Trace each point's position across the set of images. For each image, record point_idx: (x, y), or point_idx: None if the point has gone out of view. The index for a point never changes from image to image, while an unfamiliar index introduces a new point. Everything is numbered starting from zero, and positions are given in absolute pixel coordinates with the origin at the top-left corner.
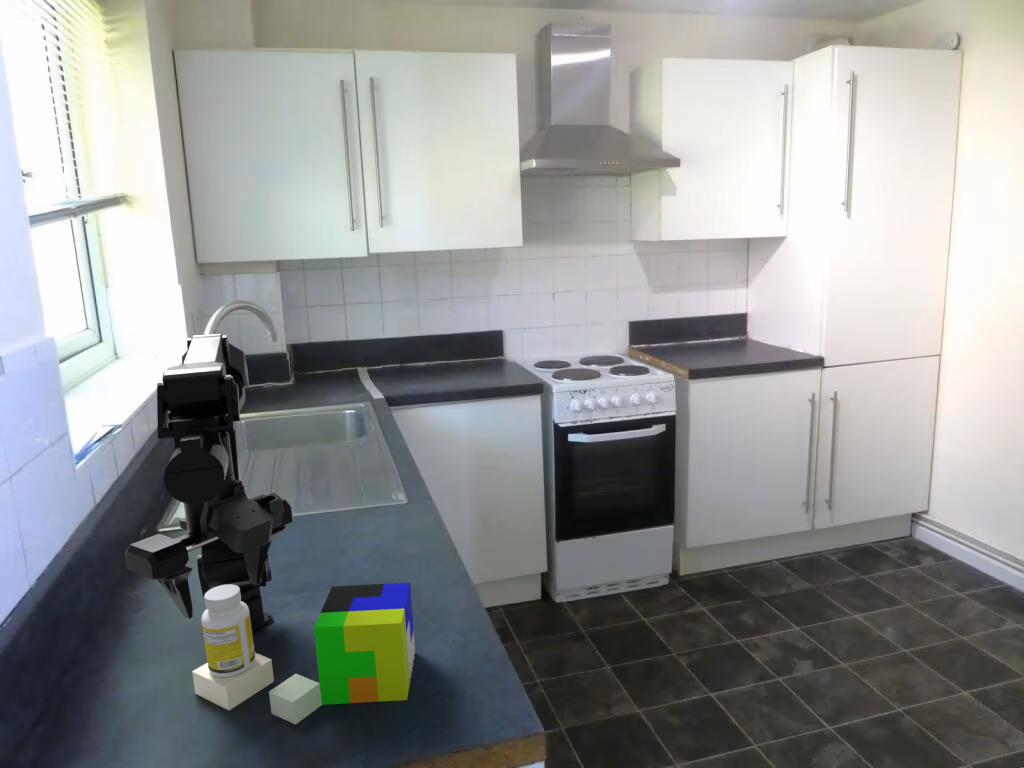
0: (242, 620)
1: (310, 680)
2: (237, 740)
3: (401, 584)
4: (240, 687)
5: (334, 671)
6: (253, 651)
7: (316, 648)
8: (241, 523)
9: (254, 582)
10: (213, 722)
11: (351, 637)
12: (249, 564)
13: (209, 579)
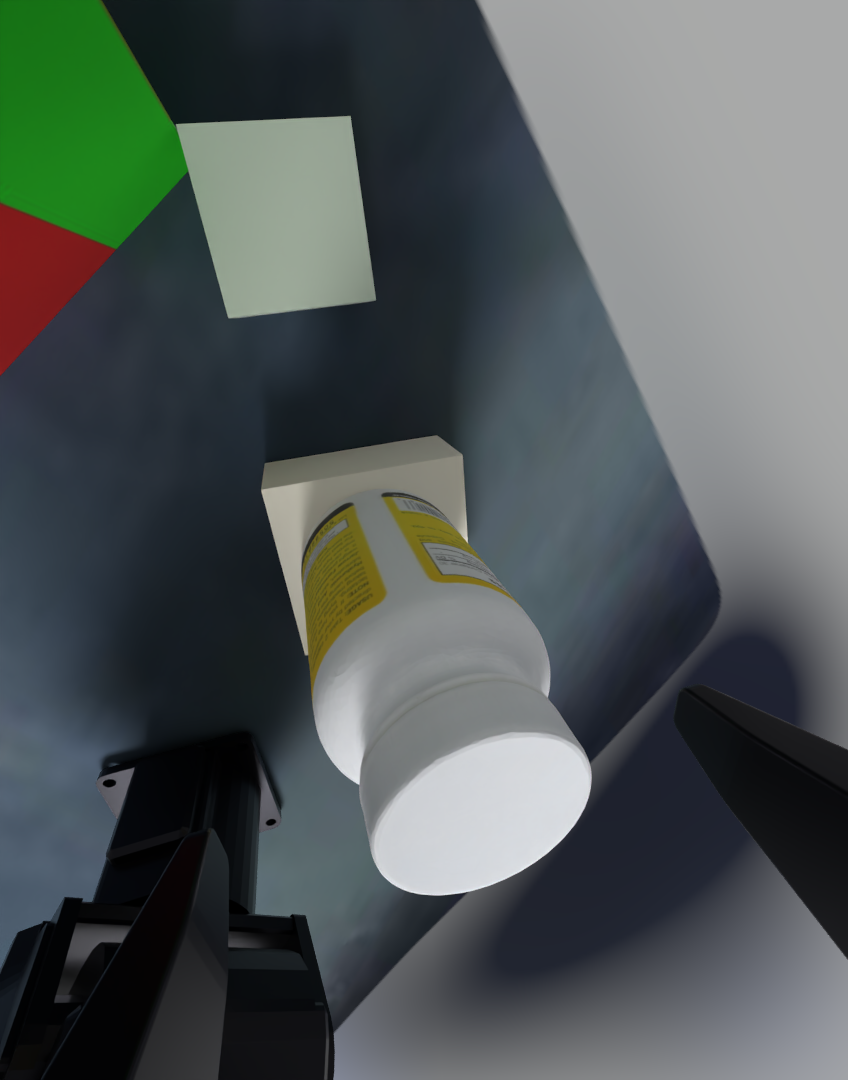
0: (404, 595)
1: (201, 195)
2: (500, 273)
3: None
4: (401, 456)
5: None
6: (325, 530)
7: (106, 14)
8: None
9: (216, 858)
10: (490, 420)
11: None
12: (200, 1071)
13: (306, 987)
